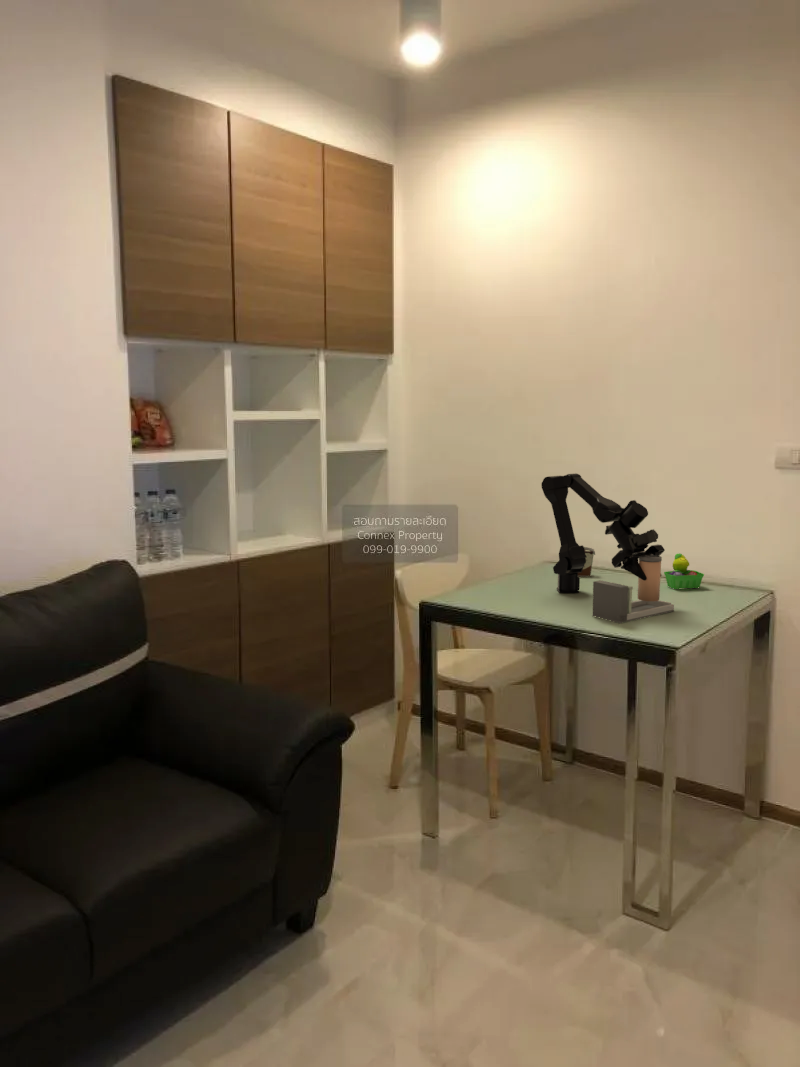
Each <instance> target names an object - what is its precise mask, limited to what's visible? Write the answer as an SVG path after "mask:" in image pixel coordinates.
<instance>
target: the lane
mask: <svg viewBox="0 0 800 1067" xmlns="http://www.w3.org/2000/svg"><path fill="white" fill-rule="evenodd" d="M592 583H593V585H592V586H593V587H592V613H591V614H592V615H591V616H592V617H593V616H596V617H595V618H597V617H600V618H599V619H601V618H603V619H602V620H605V619H607V620H606V621H609V620H611V621H610V622H613V621H614V623H616V622H618V624H622V622H624V623H627V621H628V622H632V621H631V620H633V621H636V619H637V620H641V619H645V618H644V617H646V618H650V617H654V615H655V616H659V615H663V613H664V614H668V613H671V612H674V610H675V604H672V602H669V601H665V600H661V599H659V600H658V601H642V600H639V599H637V600H632V607H631V613H628V614H627V602H628V586H629V585H627V586H625V584H622V585H620V584H621V583H617V584H615V583H616V582H613V583H612V582H611V581H605V580H601V579H600V580H596V581H595V580H594V581H593V582H592ZM649 616H650V617H649ZM640 618H641V619H640Z"/></svg>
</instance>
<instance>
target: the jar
mask: <svg viewBox="0 0 800 1067" xmlns="http://www.w3.org/2000/svg"><path fill="white" fill-rule="evenodd" d="M662 558H663V557H662V556H661V555H660V556H657V555H640V556H639V558H638V563H639V565H640V566H641V568H642V570H643V572H644V573H645V575H646V577H647V579H646V580H645V581H644V580H642V579H641V578H639V577H637V579H638V581H637V600H642V601H658V600H660V597H661V596H660V595H661V594H660V593H661V577H662V576H661V575H662V561H663V560H662Z"/></svg>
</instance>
